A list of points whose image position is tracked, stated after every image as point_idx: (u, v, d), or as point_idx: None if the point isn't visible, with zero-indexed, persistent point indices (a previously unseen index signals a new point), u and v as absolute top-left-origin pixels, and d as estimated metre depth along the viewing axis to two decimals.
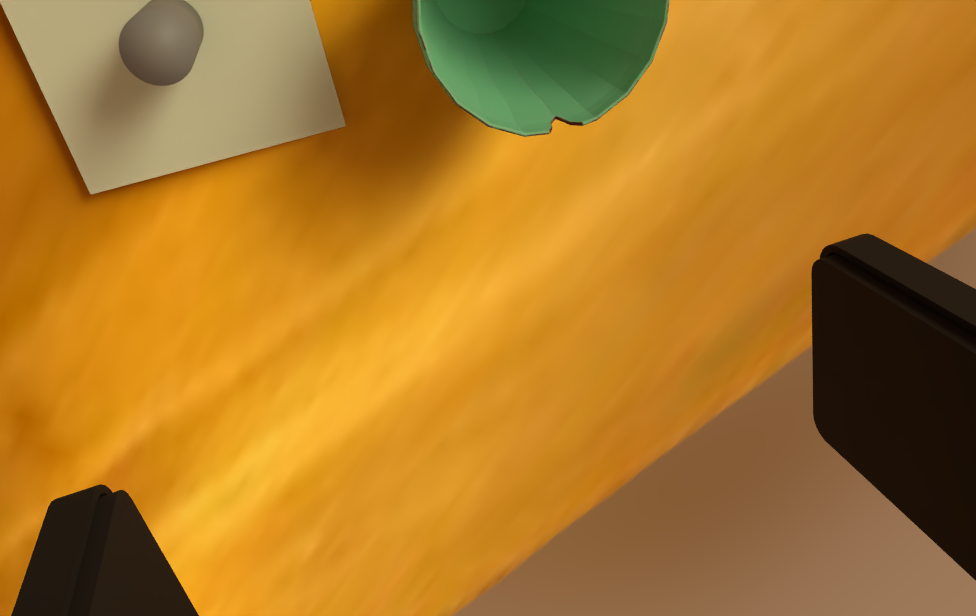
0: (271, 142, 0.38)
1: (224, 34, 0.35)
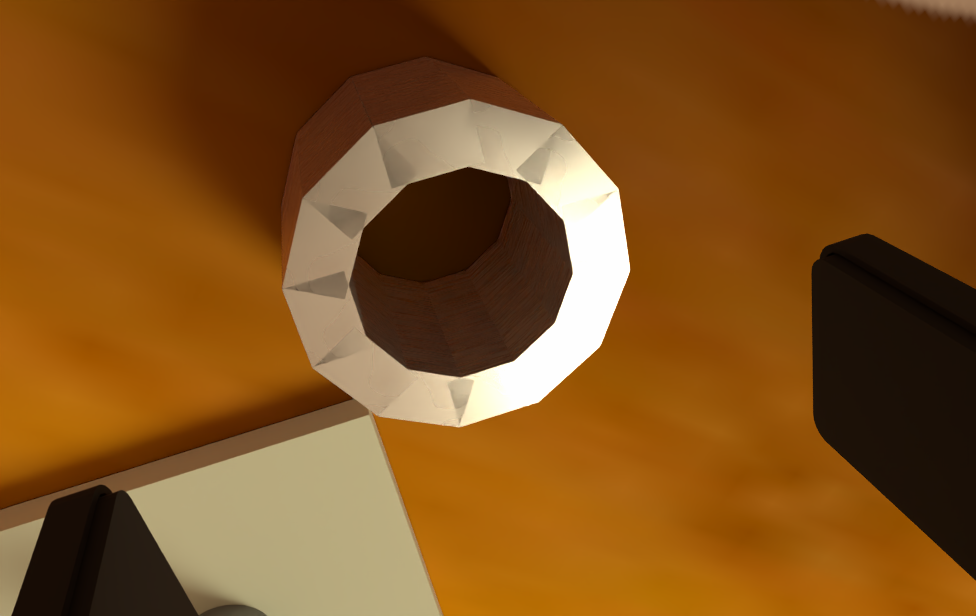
0: None
1: None
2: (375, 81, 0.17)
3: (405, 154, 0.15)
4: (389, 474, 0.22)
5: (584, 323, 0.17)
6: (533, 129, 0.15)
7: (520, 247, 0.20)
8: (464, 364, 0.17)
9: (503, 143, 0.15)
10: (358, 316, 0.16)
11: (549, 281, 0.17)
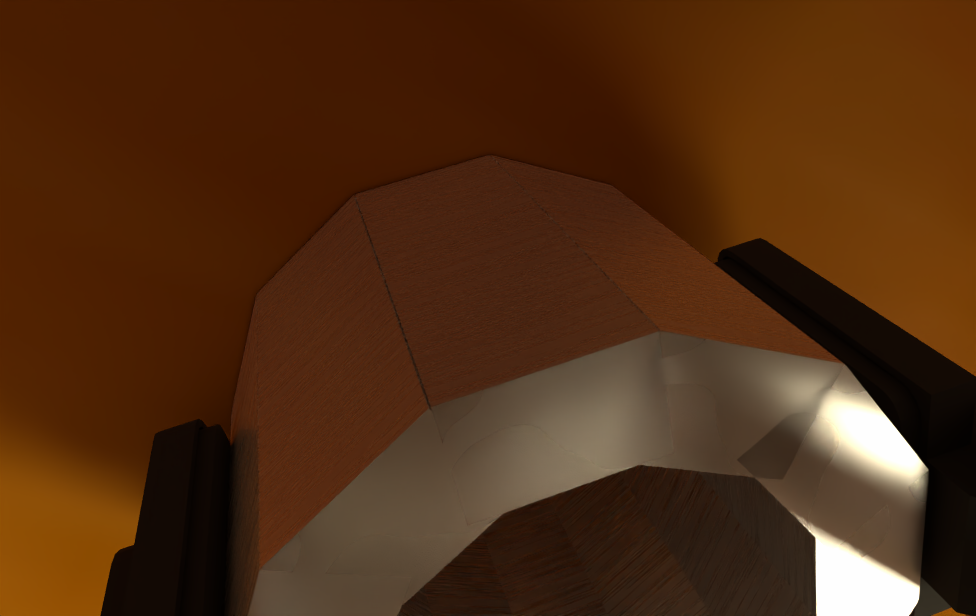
0: None
1: None
2: (405, 217, 0.09)
3: (503, 457, 0.06)
4: None
5: None
6: (785, 379, 0.07)
7: (651, 479, 0.11)
8: None
9: (719, 413, 0.07)
10: None
11: (740, 595, 0.09)
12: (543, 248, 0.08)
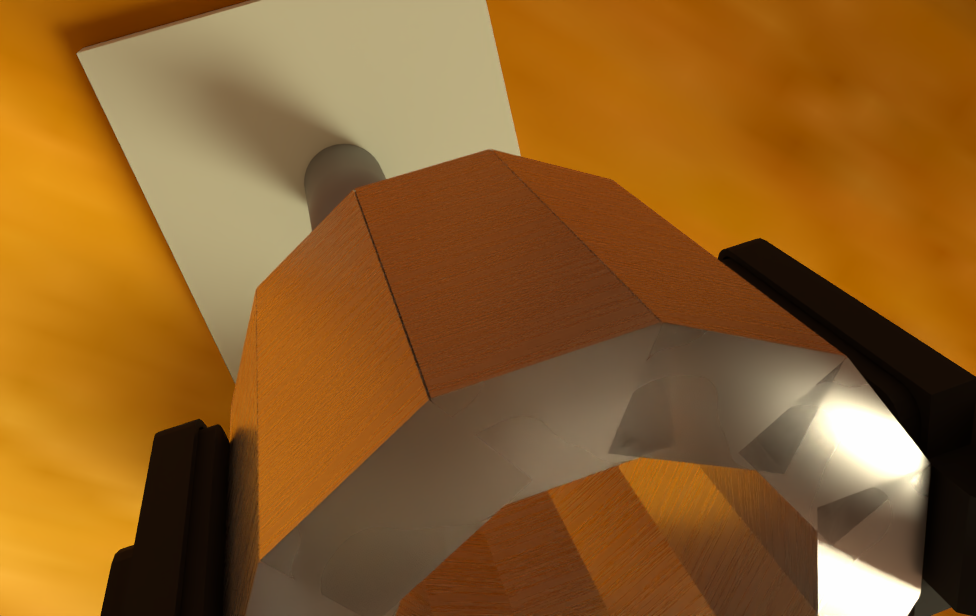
0: (201, 301, 0.27)
1: None
2: (405, 211, 0.09)
3: (503, 449, 0.06)
4: (487, 11, 0.25)
5: None
6: (787, 371, 0.07)
7: (652, 475, 0.11)
8: None
9: (720, 406, 0.07)
10: None
11: (741, 591, 0.09)
12: (544, 241, 0.08)
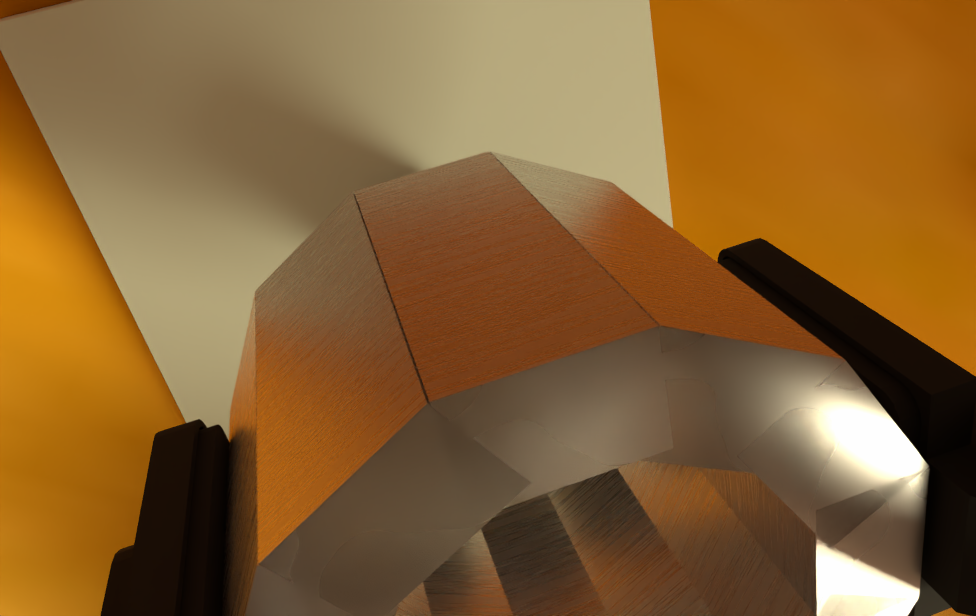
0: (188, 409, 0.18)
1: None
2: (404, 214, 0.09)
3: (502, 452, 0.06)
4: None
5: None
6: (785, 375, 0.07)
7: (651, 477, 0.11)
8: None
9: (719, 409, 0.07)
10: None
11: (740, 593, 0.09)
12: (542, 244, 0.08)
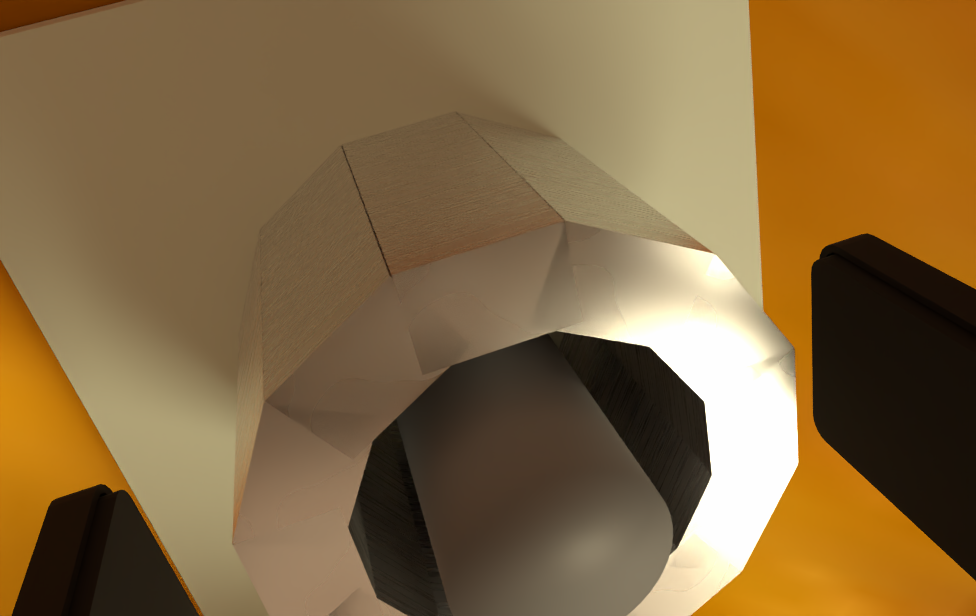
0: (168, 532, 0.14)
1: None
2: (382, 158, 0.11)
3: (448, 319, 0.08)
4: None
5: (721, 544, 0.11)
6: (668, 265, 0.09)
7: (596, 389, 0.13)
8: None
9: (616, 290, 0.09)
10: (364, 571, 0.09)
11: (659, 469, 0.11)
12: (488, 173, 0.10)
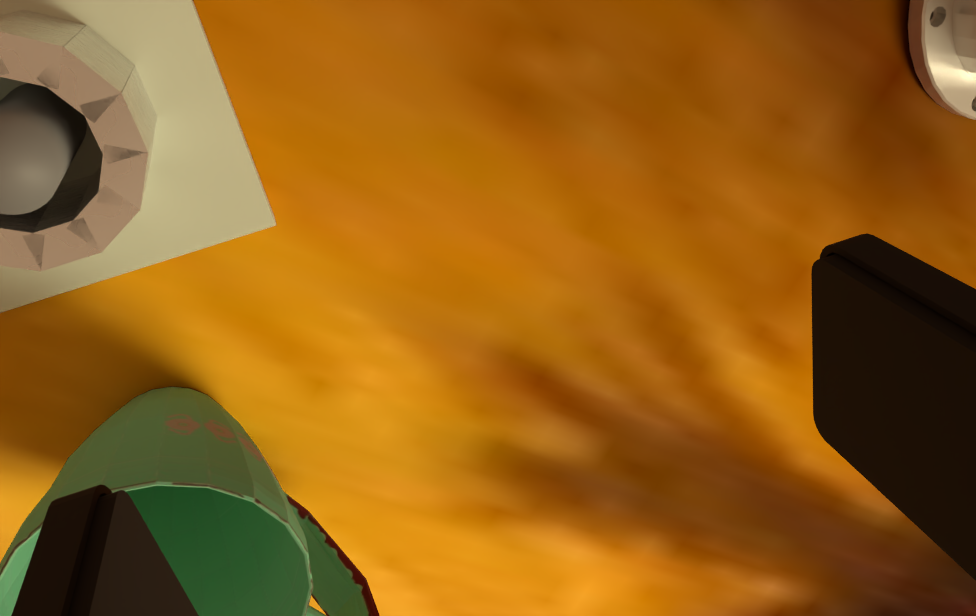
0: None
1: None
2: None
3: None
4: None
5: (122, 192, 0.24)
6: (42, 50, 0.22)
7: None
8: (41, 226, 0.24)
9: (20, 59, 0.22)
10: None
11: None
12: None
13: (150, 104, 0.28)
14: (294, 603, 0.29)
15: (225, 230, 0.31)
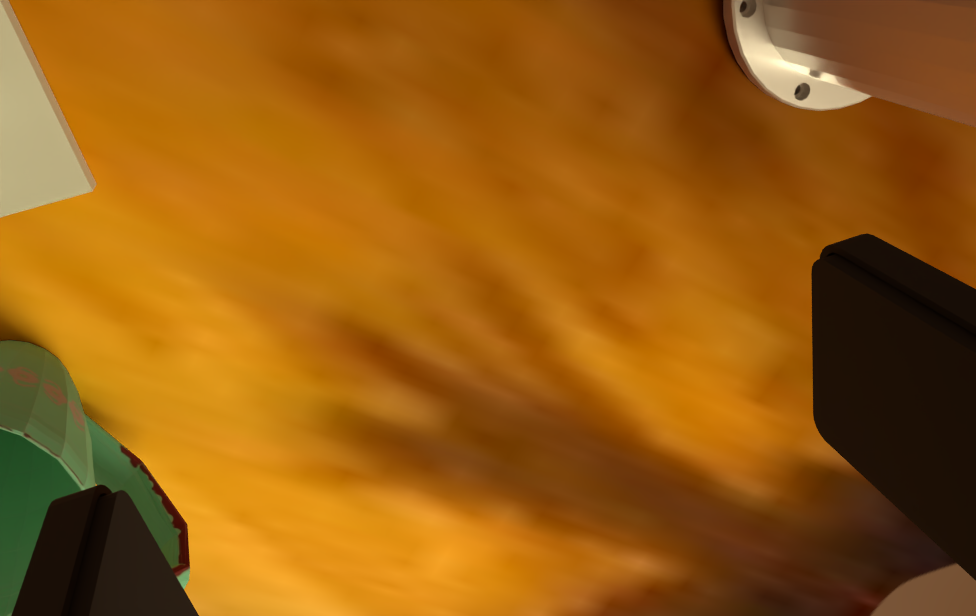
0: None
1: None
2: None
3: None
4: None
5: None
6: None
7: None
8: None
9: None
10: None
11: None
12: None
13: None
14: None
15: (43, 194, 0.33)
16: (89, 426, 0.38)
